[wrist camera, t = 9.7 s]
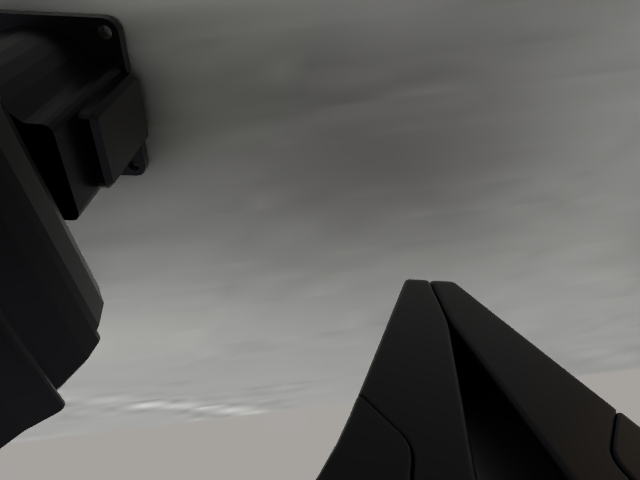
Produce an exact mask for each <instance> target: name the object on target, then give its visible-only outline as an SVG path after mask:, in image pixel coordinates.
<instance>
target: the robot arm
mask: <svg viewBox="0 0 640 480" xmlns="http://www.w3.org/2000/svg"><path fill="white" fill-rule="evenodd" d="M102 25H105V26H108V27H109V28H110V29H111V31H112V36H111V37H110V36H107V35H106V34H105V33H104V32H103V30H102ZM147 137H148V130H147V125H146V120H145V114H144V109H143V104H142V98H141V93H140V88H139V83H138V79H137V78H136V77H135V75H134V74H133V73H131V71H130V66H129V61H128V55H127V50H126V45H125V40H124V35H123V30H122V27H121V25H120V23H119V22H118V21H117V20H116V19H115V18H113V17H112V16H108V15H94V14H73V13H52V12H31V11H10V10H0V448H2V447H3V446H4V445H6V444H7V443H8V442H10V441H11V440H12V439H14V438H15V437H16V436H18V435H19V434H20V433H22V432H23V431H25V430H26V429H28V428H30V427H32V426H34V425H36V424H38V423H39V422H41V421H43V420H45V419H47V418H49V417H50V416H52V415H54V414H56V413H58V412H59V411H61V410H62V409H63V408H64V405H65V402H64V400H63V399H62V397H61V396H60V394H59V393H58V392H57V390H58V389H59V388H60V387H61V386H62V385H63V384H64V383H65V382H66V381H67V380H68V379H69V378H70V377H71V376H72V375H73V374H74V373H75V372H76V371H77V370H78V369H79V368H80V367H81V366H82V365H83V364H84V363H85V361H86V360H87V359H88V357H89V356H90V354H91V353H92V351H93V350H94V348H95V347H96V345H97V344H98V342H99V340H100V336H99V333H98V332H97V328H98V326H99V323H100V318H101V313H102V309H103V304H104V303H103V300H102V296H101V293H100V290H99V287H98V285H97V283H96V281H95V279H94V277H93V275H92V273H91V271H90V269H89V267H88V265H87V263H86V261H85V259H84V257H83V256H82V254H81V252H80V250H79V248H78V246H77V244H76V242H75V240H74V238H73V236H72V234H71V232H70V230H69V229H68V227H67V225H66V223H65V221H64V220H76V219H77V218H78V217H79V216H80V215H81V213H82V212H83V211H84V209H85V208H86V207H87V205H88V204H89V203H90V201H91V200H92V199H93V197H94V196H95V195H96V193H97V192H98V191H99V189H100V188H109V187H111V186H112V185H113V184H114V183H115V181H116V180H117V179H118V177H119V176H120V175H135V176H136V175H141V174H143V173H144V171H145V170H146V168H147V167H148V157H147V152H146V147H145V142H144V141H145V140H146V138H147ZM131 160H134V161H137V162H138V163H139V165H140V166H135V165H134V164H133V163H132V161H131ZM316 480H640V427H639V426H637V425H636V424H635V423H634V422H632V421H631V420H630V419H629V418H627V417H626V416H625V415H624V414H622V413H617V414H616V410H615V409H614V408H613V407H612V406H611V405H609V404H608V403H607V402H605V401H604V400H603V399H602V398H600V397H599V396H598V395H597V394H595V393H594V392H593V391H591V390H590V389H589V388H588V387H586V386H585V385H584V384H583V383H581V382H580V381H579V380H578V379H576V378H575V377H574V376H572V375H571V374H570V373H569V372H567V371H566V370H565V369H564V368H562V367H561V366H560V365H558V364H557V363H556V362H555V361H553V360H552V359H551V358H550V357H548V356H547V355H546V354H544V353H543V352H542V351H541V350H539V349H538V348H537V347H536V346H534V345H533V344H532V343H530V342H529V341H528V340H527V339H525V338H524V337H523V336H522V335H520V334H519V333H518V332H516V331H515V330H514V329H513V328H511V327H510V326H509V325H508V324H506V323H505V322H504V321H502V320H501V319H500V318H499V317H497V316H496V315H495V314H494V313H492V312H491V311H490V310H488V309H487V308H486V307H485V306H483V305H482V304H481V303H480V302H478V301H477V300H476V299H474V298H473V297H472V296H471V295H469V294H468V293H467V292H466V291H464V290H463V289H462V288H460V287H459V286H458V285H457V284H455V283H453V282H447V281H432V282H430V283H429V282H428V281H426V280H411V279H408V280H406V281H405V283H404V285H403V287H402V290H401V292H400V295H399V297H398V300H397V302H396V305H395V307H394V309H393V312H392V314H391V317H390V319H389V322H388V324H387V327H386V329H385V332H384V334H383V336H382V339H381V341H380V344H379V346H378V349H377V351H376V354H375V356H374V358H373V361H372V363H371V366H370V368H369V371H368V373H367V376H366V378H365V381H364V383H363V385H362V388H361V390H360V393H359V395H358V398H357V399H356V401H355V404H354V406H353V409H352V411H351V414H350V416H349V418H348V420H347V423H346V425H345V427H344V429H343V431H342V433H341V436H340V438H339V440H338V442H337V444H336V446H335V447H334V449H333V451H332V453H331V454H330V456H329V458H328V460H327V461H326V463H325V465H324V467H323V469H322V470H321V472H320V474H319V476H318V477H317V479H316Z"/></svg>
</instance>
